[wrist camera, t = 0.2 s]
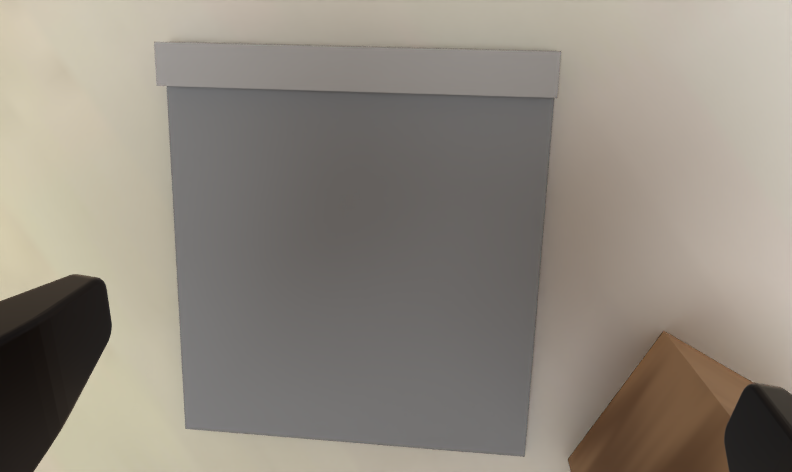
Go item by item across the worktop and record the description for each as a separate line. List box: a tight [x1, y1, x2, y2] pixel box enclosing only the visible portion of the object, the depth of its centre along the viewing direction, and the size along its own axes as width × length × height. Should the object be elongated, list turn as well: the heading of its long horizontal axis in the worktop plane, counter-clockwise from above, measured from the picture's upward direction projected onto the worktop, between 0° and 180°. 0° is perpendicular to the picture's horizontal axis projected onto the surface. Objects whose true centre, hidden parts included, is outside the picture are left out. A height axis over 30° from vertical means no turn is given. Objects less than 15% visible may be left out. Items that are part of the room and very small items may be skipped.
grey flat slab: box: [154, 42, 561, 457], centre depth 25 cm, size 16×14×1 cm
